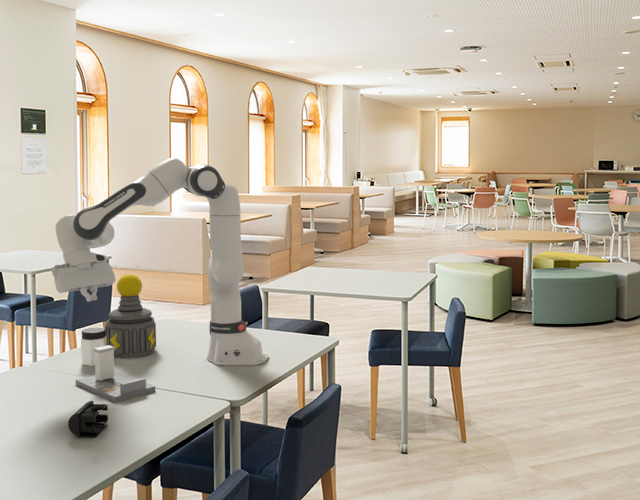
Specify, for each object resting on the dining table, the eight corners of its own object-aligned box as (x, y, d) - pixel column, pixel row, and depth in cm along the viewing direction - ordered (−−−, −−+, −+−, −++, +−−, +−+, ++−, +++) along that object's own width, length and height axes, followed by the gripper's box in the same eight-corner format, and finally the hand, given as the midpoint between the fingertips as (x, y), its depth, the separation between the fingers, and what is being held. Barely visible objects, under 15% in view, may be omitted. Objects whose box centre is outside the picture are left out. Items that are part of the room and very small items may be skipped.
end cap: (83, 424, 185) (82, 400, 184) (108, 424, 185) (108, 400, 184) (68, 438, 175) (67, 413, 174) (95, 439, 175) (94, 413, 174)
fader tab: (94, 378, 218) (93, 348, 217) (109, 374, 222) (108, 345, 221) (100, 380, 216) (99, 350, 215) (115, 377, 220) (114, 347, 219)
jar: (85, 367, 237) (83, 334, 236) (79, 362, 244) (77, 329, 242) (110, 363, 242) (109, 330, 240) (104, 358, 249) (103, 326, 247)
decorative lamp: (94, 355, 252) (91, 276, 248) (126, 343, 269) (124, 269, 266) (137, 361, 245) (134, 279, 242) (166, 348, 263) (164, 272, 259)
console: (75, 384, 218) (75, 370, 218) (114, 375, 228) (114, 361, 228) (115, 402, 202) (114, 387, 202) (155, 391, 212) (155, 377, 212)
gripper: (54, 261, 215) (67, 301, 213) (110, 255, 231) (123, 292, 228) (46, 269, 219) (58, 309, 216) (101, 263, 235) (114, 299, 232)
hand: (92, 300), depth 222 cm, fingers closed
